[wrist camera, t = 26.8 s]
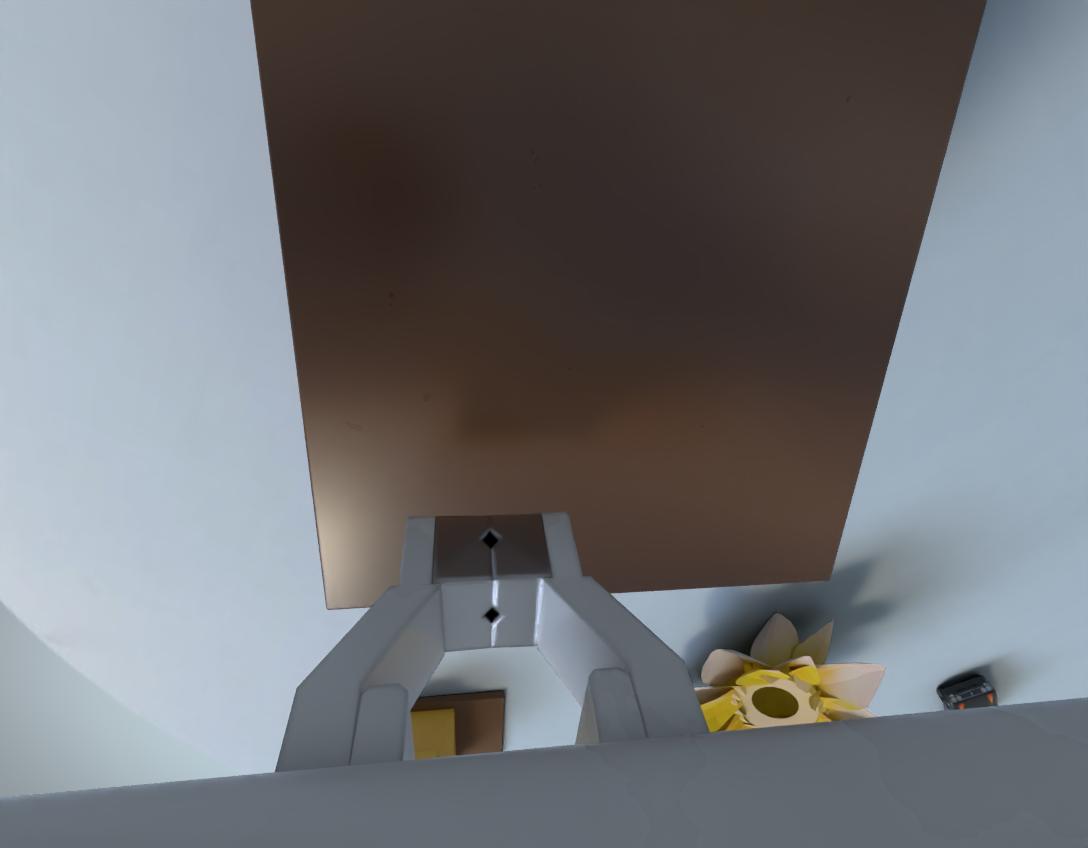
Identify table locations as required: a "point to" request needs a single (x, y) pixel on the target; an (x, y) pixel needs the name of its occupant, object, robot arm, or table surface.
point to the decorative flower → (784, 682)
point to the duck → (434, 733)
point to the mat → (472, 719)
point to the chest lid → (601, 266)
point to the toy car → (968, 694)
